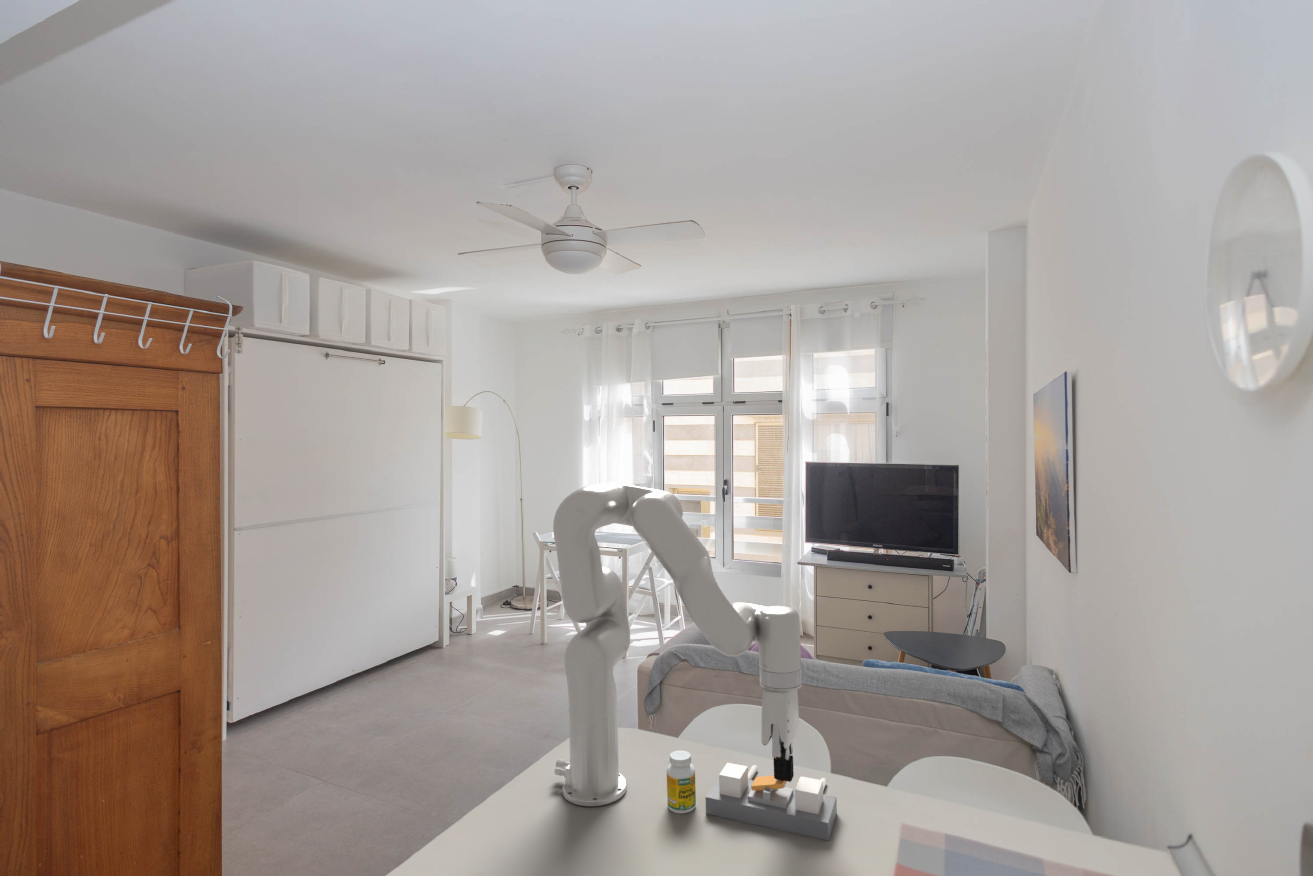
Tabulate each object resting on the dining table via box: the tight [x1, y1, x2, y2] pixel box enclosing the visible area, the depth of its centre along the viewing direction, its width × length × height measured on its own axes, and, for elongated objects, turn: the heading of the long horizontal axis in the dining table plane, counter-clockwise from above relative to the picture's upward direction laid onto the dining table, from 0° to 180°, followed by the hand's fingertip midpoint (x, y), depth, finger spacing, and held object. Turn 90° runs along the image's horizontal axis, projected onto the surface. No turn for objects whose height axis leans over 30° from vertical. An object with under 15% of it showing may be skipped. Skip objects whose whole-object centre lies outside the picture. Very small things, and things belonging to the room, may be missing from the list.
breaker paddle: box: [751, 774, 788, 791], centre depth 119 cm, size 6×4×1 cm, turn 66°
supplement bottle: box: [666, 750, 697, 815], centre depth 122 cm, size 5×5×10 cm
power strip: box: [705, 762, 838, 842], centre depth 124 cm, size 22×19×6 cm
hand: (783, 778), depth 118 cm, fingers closed
